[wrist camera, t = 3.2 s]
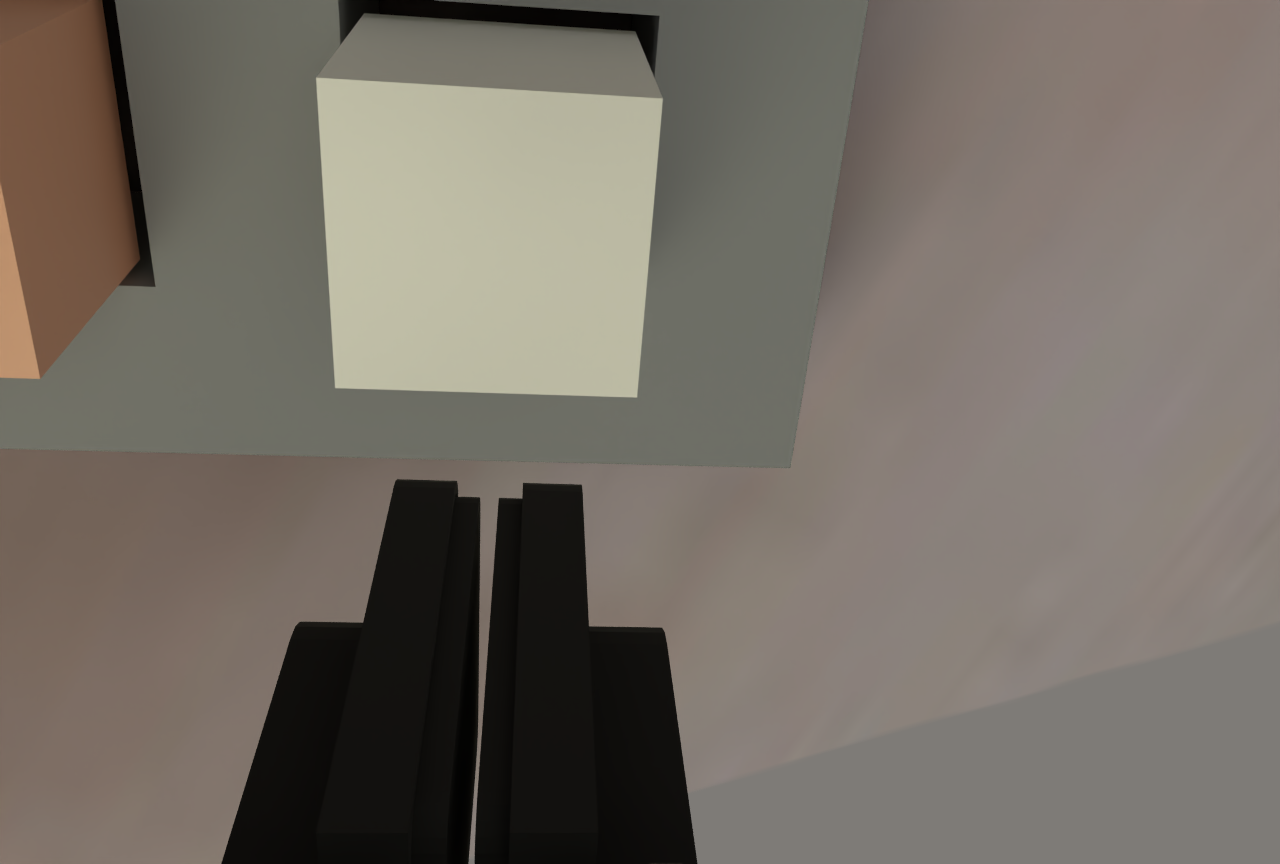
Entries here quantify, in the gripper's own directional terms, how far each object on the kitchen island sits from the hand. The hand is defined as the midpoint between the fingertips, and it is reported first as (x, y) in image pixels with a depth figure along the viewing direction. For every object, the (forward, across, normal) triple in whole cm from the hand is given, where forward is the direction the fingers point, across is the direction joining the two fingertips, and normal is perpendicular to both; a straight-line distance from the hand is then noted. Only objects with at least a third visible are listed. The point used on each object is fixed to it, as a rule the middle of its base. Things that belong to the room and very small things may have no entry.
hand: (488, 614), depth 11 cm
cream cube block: (+15, 0, 0) cm, 15 cm away
